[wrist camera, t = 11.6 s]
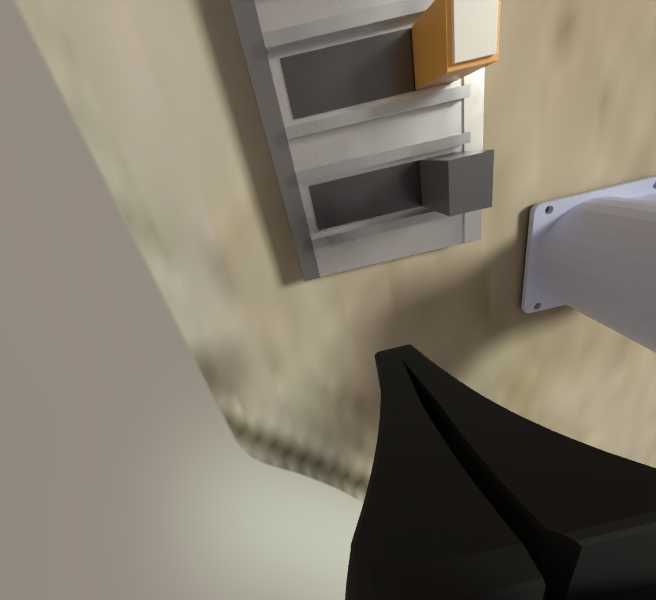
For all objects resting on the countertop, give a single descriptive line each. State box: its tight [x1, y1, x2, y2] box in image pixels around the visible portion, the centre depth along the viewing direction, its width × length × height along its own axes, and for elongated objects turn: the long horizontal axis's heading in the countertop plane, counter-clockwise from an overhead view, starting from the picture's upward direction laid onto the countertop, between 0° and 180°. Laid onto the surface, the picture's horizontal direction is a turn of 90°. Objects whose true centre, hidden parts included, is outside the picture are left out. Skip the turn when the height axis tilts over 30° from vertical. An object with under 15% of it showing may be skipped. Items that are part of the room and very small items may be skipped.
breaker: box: [419, 150, 494, 216], centre depth 15 cm, size 2×2×3 cm
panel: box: [230, 0, 484, 281], centre depth 14 cm, size 11×19×2 cm, turn 12°
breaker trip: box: [412, 0, 501, 90], centre depth 12 cm, size 2×2×4 cm
